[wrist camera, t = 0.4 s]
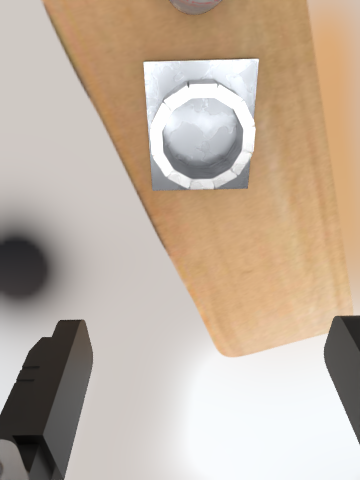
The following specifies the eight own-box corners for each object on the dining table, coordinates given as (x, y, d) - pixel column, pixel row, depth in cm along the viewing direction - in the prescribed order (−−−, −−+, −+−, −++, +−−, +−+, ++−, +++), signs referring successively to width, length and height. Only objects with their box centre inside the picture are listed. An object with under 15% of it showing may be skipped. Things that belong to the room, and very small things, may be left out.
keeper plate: (144, 61, 30) (139, 64, 26) (256, 58, 30) (267, 61, 26) (153, 186, 36) (150, 204, 32) (245, 184, 36) (253, 202, 32)
